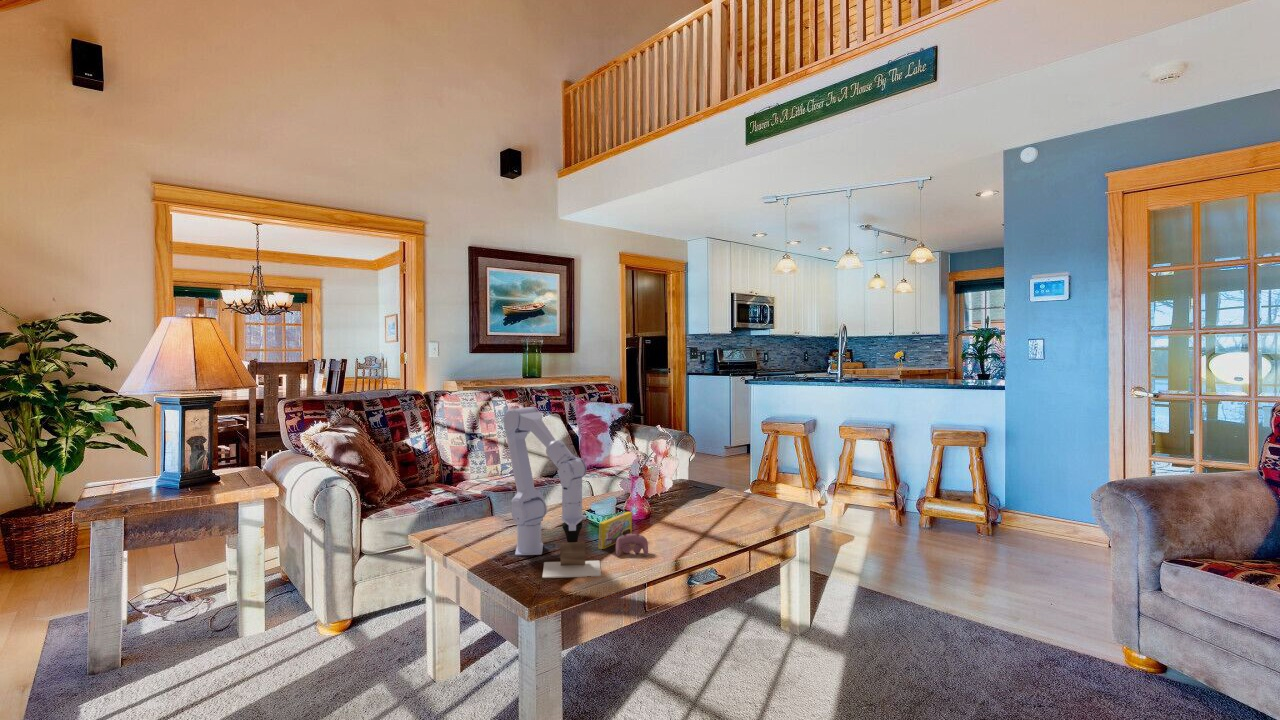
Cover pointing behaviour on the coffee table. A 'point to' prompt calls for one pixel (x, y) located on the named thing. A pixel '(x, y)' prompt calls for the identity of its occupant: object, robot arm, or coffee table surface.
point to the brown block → (572, 553)
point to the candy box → (614, 529)
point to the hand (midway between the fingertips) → (572, 548)
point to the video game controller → (631, 539)
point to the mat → (571, 570)
